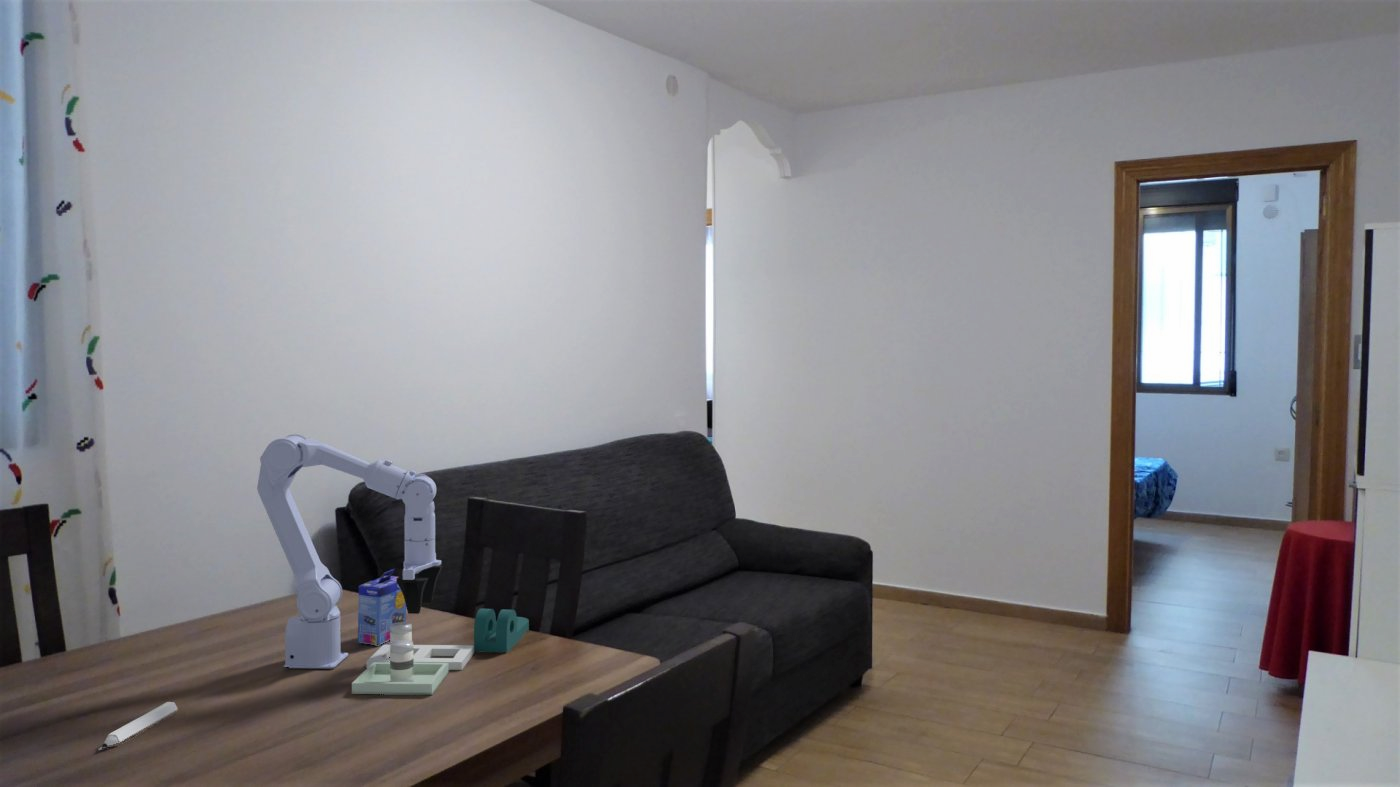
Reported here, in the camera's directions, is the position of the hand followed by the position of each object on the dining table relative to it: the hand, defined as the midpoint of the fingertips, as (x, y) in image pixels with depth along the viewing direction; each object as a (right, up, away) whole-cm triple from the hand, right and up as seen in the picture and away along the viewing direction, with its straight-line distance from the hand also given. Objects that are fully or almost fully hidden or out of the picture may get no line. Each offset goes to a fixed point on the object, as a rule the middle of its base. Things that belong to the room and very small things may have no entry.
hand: (420, 607), depth 184 cm
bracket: (+14, -10, +14) cm, 22 cm away
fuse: (-3, -10, -1) cm, 11 cm away
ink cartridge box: (-12, -10, +13) cm, 20 cm away
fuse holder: (+1, -10, -1) cm, 10 cm away
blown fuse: (+1, -10, -13) cm, 17 cm away
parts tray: (+1, -11, -13) cm, 17 cm away
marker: (-34, -12, -35) cm, 51 cm away
